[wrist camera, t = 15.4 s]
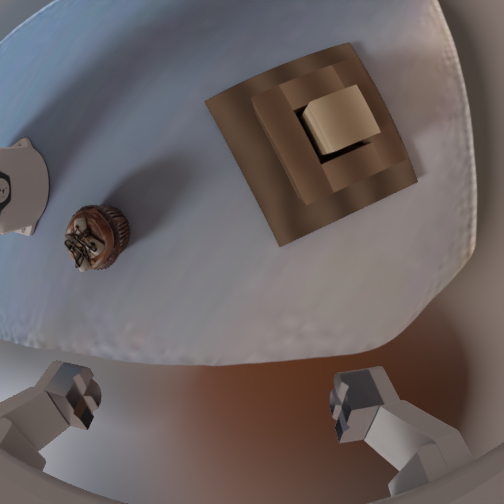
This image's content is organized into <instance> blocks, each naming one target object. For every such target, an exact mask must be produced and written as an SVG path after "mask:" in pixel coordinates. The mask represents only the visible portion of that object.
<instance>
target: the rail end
mask: <svg viewBox="0 0 504 504" xmlns="http://www.w3.org/2000/svg"><path fill="white" fill-rule="evenodd" d="M299 122H300V124H301V126H302V128H303V129H304V131H305V133H306V135H307V137H308V139H309V141H310V143H311V145H312V147H313V149H314V151H315V153H316V155H317V157H318V156H321V155H325V154H328V153H332V152H335V151H337V150H340V149H342V148H344V147H347V146H349V145H351V144H354V143H356V142H358V141H361V140H363V139H366V138H368V137H370V136H373V135H375V134H378V133H380V132H381V131H380V129H379V127H378V125H377V123H376V121H375V119H374V117H373V115H372V113H371V111H370V109H369V107H368V105H367V103H366V101H365V99H364V97H363V95H362V93H361V92H360V90H359V88H358V86H357V84H356V85H353V86H351V87H348V88H345V89H342V90H339V91H337V92H334V93H331V94H329V95H326V96H323V97H321V98H318V99H316V100H313V101H311V102H309V104H308V106H307V107H306V109H305V111H304V113H303V114H302V116H301V118H300V119H299Z"/></svg>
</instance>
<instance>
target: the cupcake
mask: <svg viewBox="0 0 504 504" xmlns="http://www.w3.org/2000/svg"><path fill="white" fill-rule="evenodd" d="M129 235H130V230H129V225H128V221H127V219H126V218H125V217H124V216H123V214H122V212H121V211H120V210H118V209H117V208H114V207H111V206H100V205H89V206H85V207H82V208H81V209H80V210H78V211H77V212H76V214H74V215H73V217H72V218H71V220H70V222H69V225H68V227H67V230H66V234H65V246H66V248H67V251H68V253H69V255H70V257H71V258H72V259H73V260H74V261H75V262H76V266H75V268H79V270H80V271H81V272H84V271H87V270H88V269H94V270H95V269H98V270H99V269H101V270H102V269H104V268H105V269H106V268H107V267H108V268H109V267H110V265H112V264H113V263H114V262H115V261H116V259H117V258H118V256H119V254H120V253H121V252H122V251H123V250H124V248H125V247H126V245H127V243H128V240H129Z"/></svg>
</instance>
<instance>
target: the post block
mask: <svg viewBox="0 0 504 504" xmlns="http://www.w3.org/2000/svg"><path fill="white" fill-rule="evenodd" d="M356 84H357V86H358V88H359V90H360V92H361V93H362V95H363V97H364V99H365V101H366V103H367V105H368V107H369V109H370V111H371V113H372V115H373V117H374V119H375V121H376V123H377V125H378V127H379V129H380V131H381V132H380V133H378V134H375V135H373V136H370V137H368V138H366V139H363V140H361V141H358V142H356V143H354V144H351V145H349V146H347V147H344V148H342V149H340V150H337V151H335V152H332V153H328V154H325V155H321V156H318V157H317V155H316V153H315V151H314V149H313V147H312V145H311V143H310V141H309V139H308V137H307V135H306V133H305V131H304V129H303V128H302V126H301V124H300V122H299V119H300V118H301V116H302V114H303V113H304V111H305V109H306V107H307V106H308V104H309V102H311V101H313V100H316V99H318V98H321V97H323V96H326V95H329V94H331V93H334V92H337V91H339V90H342V89H345V88H348V87H351V86H353V85H356ZM204 102H205V103H206V105H207V107H208V109H209V111H210V113H211V115H212V116H213V118H214V120H215V122H216V124H217V126H218V128H219V129H220V131H221V133H222V135H223V137H224V139H225V141H226V143H227V144H228V146H229V148H230V150H231V152H232V154H233V156H234V158H235V160H236V162H237V163H238V165H239V167H240V169H241V171H242V173H243V175H244V177H245V179H246V181H247V183H248V185H249V187H250V189H251V191H252V192H253V194H254V196H255V198H256V200H257V202H258V204H259V206H260V208H261V210H262V212H263V214H264V216H265V218H266V220H267V222H268V224H269V226H270V228H271V230H272V232H273V234H274V236H275V238H276V240H277V242H278V244H279V246H280V247H281V246H283V245H285V244H288V243H290V242H292V241H294V240H296V239H298V238H300V237H303V236H305V235H307V234H309V233H311V232H313V231H315V230H317V229H320V228H322V227H324V226H326V225H328V224H330V223H332V222H334V221H337V220H339V219H341V218H343V217H345V216H347V215H349V214H351V213H354V212H356V211H358V210H360V209H362V208H364V207H366V206H368V205H370V204H373V203H375V202H377V201H379V200H381V199H383V198H385V197H387V196H389V195H391V194H394V193H396V192H398V191H400V190H402V189H404V188H406V187H408V186H410V185H412V184H414V183H417V182H418V180H417V178H416V175H415V172H414V169H413V167H412V164H411V161H410V159H409V156H408V154H407V151H406V149H405V146H404V144H403V142H402V139H401V137H400V135H399V132H398V130H397V128H396V126H395V124H394V121H393V119H392V117H391V115H390V113H389V111H388V109H387V107H386V105H385V103H384V101H383V99H382V97H381V95H380V93H379V91H378V90H377V88H376V86H375V84H374V82H373V80H372V79H371V77H370V75H369V73H368V72H367V70H366V68H365V67H364V65H363V63H362V62H361V60H360V58H359V57H358V55H357V54H356V52H355V51H354V49H353V47H352V46H351V44H350V43H349V42H348V43H345V44H341V45H338V46H335V47H331V48H328V49H325V50H322V51H319V52H316V53H313V54H310V55H307V56H304V57H301V58H299V59H296V60H293V61H291V62H288V63H285V64H283V65H280V66H278V67H275V68H273V69H271V70H268V71H266V72H263V73H261V74H259V75H257V76H254V77H252V78H250V79H248V80H246V81H243V82H241V83H239V84H237V85H235V86H233V87H231V88H229V89H227V90H225V91H223V92H221V93H219V94H217V95H215V96H213V97H211V98H210V99H208V100H206V101H204Z"/></svg>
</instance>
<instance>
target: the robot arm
mask: <svg viewBox="0 0 504 504" xmlns="http://www.w3.org/2000/svg"><path fill="white" fill-rule="evenodd" d="M48 192H49V179H48V172H47V168H46V164H45V162H44V160H43V158H42V156H41V155H40V154H39V153H38V152H37V151H36V150H35V149H34V148H33V147H32V145H31V142H30V140H29V139H28V138H22V139H21V140H19V141H18V142H17V143H15V144H14V145H13V146H11V147H6V148H0V234H7V233H10V232H13V231H14V232H17V233H20V234H23V235H26V236H30V235H32V234H33V233H34V230H35V226H36V222H37V221H38V219H39V218H40V217H41V215H42V213H43V211H44V209H45V206H46V203H47V199H48ZM92 378H93V373H92V371H91V369H90V368H88V367H84V366H79V365H75V364H71V363H66V362H61V361H57V360H56V361H54V362H52V363H51V365H50V366H49V367H48V369H47V370H46V371H45V373H44V374H43V376H42V377H41V378H40V380H39V381H38V382H37V384H36V385H35V387H30V388H28V389H26V390H24V391H22V392H20V393H18V394H16V395H14V396H12V397H10V398H8V399H6V400H4V401H2V402H0V504H128V503H124V502H120V501H117V500H113V499H110V498H107V497H104V496H101V495H98V494H95V493H92V492H89V491H86V490H84V489H81V488H78V487H76V486H73V485H71V484H68V483H66V482H64V481H62V480H59V479H57V478H55V477H53V476H51V475H49V474H46V473H44V472H42V471H43V468H44V466H45V464H46V461H45V459H44V458H43V456H42V455H41V454H39V452H38V451H39V450H41V449H42V448H43V447H44V446H46V445H47V444H48V443H50V442H51V441H52V440H53V439H54V438H56V437H57V436H58V435H60V434H61V433H62V432H63V431H65V430H66V429H67V428H68V427H69V425H70V426H74V427H78V428H81V429H85V430H88V429H89V426H90V424H91V422H92V420H93V418H94V416H93V411H94V410H96V409H98V407H99V405H100V403H101V390H100V387H99V385H98V384H97V383H96V382H95V381H94V380H93V379H92ZM333 382H334V385H335V388H334V389H333V390H332V391H331V395H330V409H331V414H332V417H333V418H334V419H336V420H337V423H336V426H335V430H336V433H337V437H338V441H339V443H345V442H351V441H356V440H362V439H364V440H365V441H366V442H367V443H368V444H369V445H370V446H371V447H373V448H374V449H375V450H376V451H377V452H378V453H379V454H380V455H381V456H383V457H384V458H385V459H386V460H387V461H389V462H390V463H391V464H392V465H393V466H394V467H395V468H397V469H398V470H399V473H398V474H397V475H396V476H395V477H394V478H393V479H392V481H391V482H390V483H389V484H388V486H389V490H390V493H391V497H388V498H385V499H382V500H378V501H375V502H371V503H367V504H504V442H503V443H501V444H500V445H498V446H497V447H495V448H494V449H492V450H491V451H489V452H487V453H486V454H484V455H482V456H481V457H479V458H477V459H476V460H474V459H473V457H472V455H471V453H470V452H469V450H468V448H467V446H466V444H465V442H464V440H463V438H462V437H461V435H460V433H459V431H458V430H456V429H454V428H453V427H451V426H449V425H447V424H445V423H443V422H442V421H440V420H438V419H436V418H435V417H433V416H431V415H429V414H427V413H426V412H424V411H422V410H420V409H419V408H417V407H415V406H414V405H412V404H410V403H408V402H407V401H405V400H403V401H400V400H399V397H398V395H397V394H396V392H395V390H394V388H393V386H392V384H391V382H390V380H389V378H388V376H387V374H386V372H385V371H384V369H383V368H382V367H381V366H379V367H373V368H367V369H360V370H354V371H347V372H340V373H336V375H335V377H334V381H333Z"/></svg>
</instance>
